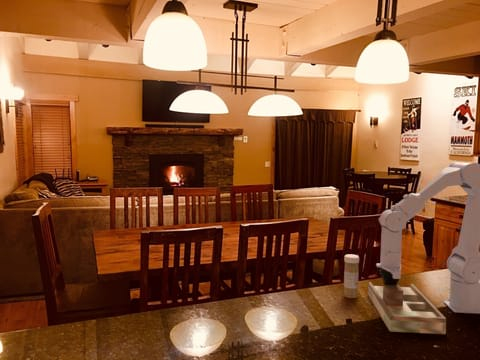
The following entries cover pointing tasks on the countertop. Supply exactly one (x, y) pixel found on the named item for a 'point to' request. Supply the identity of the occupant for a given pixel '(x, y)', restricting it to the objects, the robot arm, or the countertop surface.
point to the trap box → (409, 312)
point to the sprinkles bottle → (351, 276)
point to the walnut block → (393, 295)
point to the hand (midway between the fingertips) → (389, 294)
